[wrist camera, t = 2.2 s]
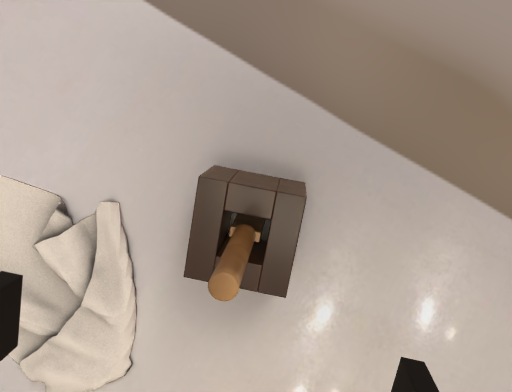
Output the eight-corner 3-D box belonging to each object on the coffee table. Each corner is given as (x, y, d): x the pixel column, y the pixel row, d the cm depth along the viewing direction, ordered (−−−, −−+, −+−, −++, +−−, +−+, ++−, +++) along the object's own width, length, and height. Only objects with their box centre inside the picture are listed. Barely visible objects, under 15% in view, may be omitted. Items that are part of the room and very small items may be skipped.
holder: (305, 182, 37) (306, 196, 32) (287, 269, 39) (285, 298, 33) (213, 165, 38) (198, 176, 32) (200, 251, 40) (183, 277, 34)
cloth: (62, 421, 45) (49, 438, 42) (-91, 259, 43) (-114, 268, 40) (212, 309, 41) (206, 321, 38) (51, 124, 39) (35, 125, 36)
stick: (266, 211, 38) (247, 277, 24) (263, 229, 39) (242, 305, 24) (239, 206, 38) (204, 268, 24) (236, 224, 39) (199, 296, 24)
